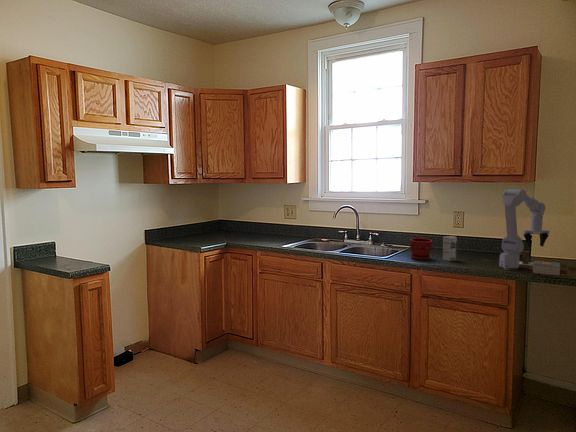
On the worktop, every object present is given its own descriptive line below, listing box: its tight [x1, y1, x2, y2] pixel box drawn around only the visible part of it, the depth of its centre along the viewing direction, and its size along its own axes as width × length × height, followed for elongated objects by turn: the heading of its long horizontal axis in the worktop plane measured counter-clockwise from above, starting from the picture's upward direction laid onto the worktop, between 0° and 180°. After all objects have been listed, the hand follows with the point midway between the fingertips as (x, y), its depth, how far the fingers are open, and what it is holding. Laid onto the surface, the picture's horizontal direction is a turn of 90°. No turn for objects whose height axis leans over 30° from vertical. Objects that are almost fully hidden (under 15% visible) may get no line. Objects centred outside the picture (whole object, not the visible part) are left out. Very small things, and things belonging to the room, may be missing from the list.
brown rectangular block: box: [521, 250, 530, 265], centre depth 253 cm, size 3×3×7 cm
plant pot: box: [409, 237, 433, 261], centre depth 272 cm, size 13×13×12 cm
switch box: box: [532, 260, 561, 276], centre depth 235 cm, size 12×12×4 cm
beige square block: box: [519, 260, 534, 266], centre depth 253 cm, size 9×9×1 cm
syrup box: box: [442, 235, 458, 262], centre depth 267 cm, size 6×6×14 cm
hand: (535, 246), depth 255 cm, fingers open, 7 cm apart
